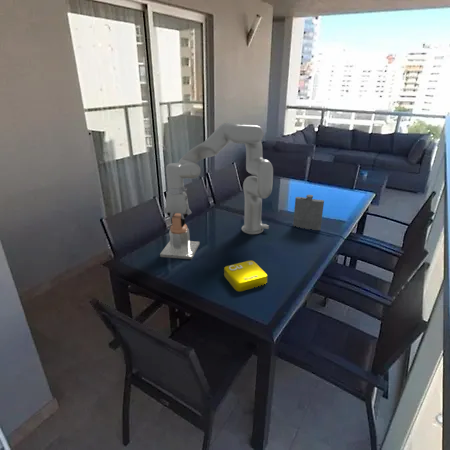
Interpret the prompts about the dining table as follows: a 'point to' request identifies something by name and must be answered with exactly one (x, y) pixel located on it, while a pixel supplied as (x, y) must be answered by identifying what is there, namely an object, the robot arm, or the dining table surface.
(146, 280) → the dining table surface
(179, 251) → the hex socket plate
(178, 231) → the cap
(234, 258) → the dining table surface
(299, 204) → the hip flask
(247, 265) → the element tile
